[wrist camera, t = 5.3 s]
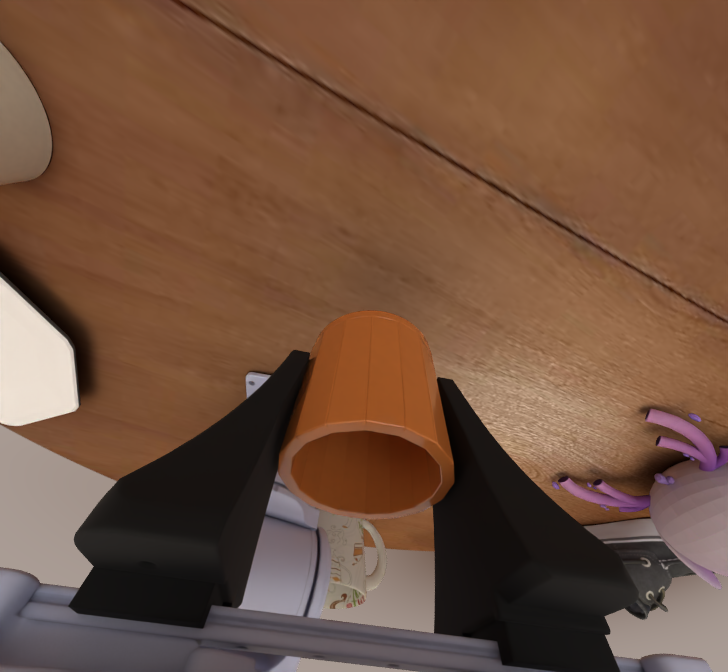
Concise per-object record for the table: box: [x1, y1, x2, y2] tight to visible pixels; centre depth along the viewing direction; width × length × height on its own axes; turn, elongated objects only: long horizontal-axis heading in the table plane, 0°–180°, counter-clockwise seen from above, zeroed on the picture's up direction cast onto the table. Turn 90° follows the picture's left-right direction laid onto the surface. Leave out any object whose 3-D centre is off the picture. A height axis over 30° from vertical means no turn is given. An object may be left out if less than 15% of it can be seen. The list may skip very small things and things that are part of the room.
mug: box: [312, 506, 387, 609], centre depth 33 cm, size 8×13×10 cm, turn 51°
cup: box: [278, 310, 455, 519], centre depth 11 cm, size 5×5×6 cm
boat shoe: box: [583, 519, 715, 620], centre depth 36 cm, size 26×9×8 cm, turn 98°
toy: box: [552, 409, 728, 590], centre depth 28 cm, size 14×11×15 cm
